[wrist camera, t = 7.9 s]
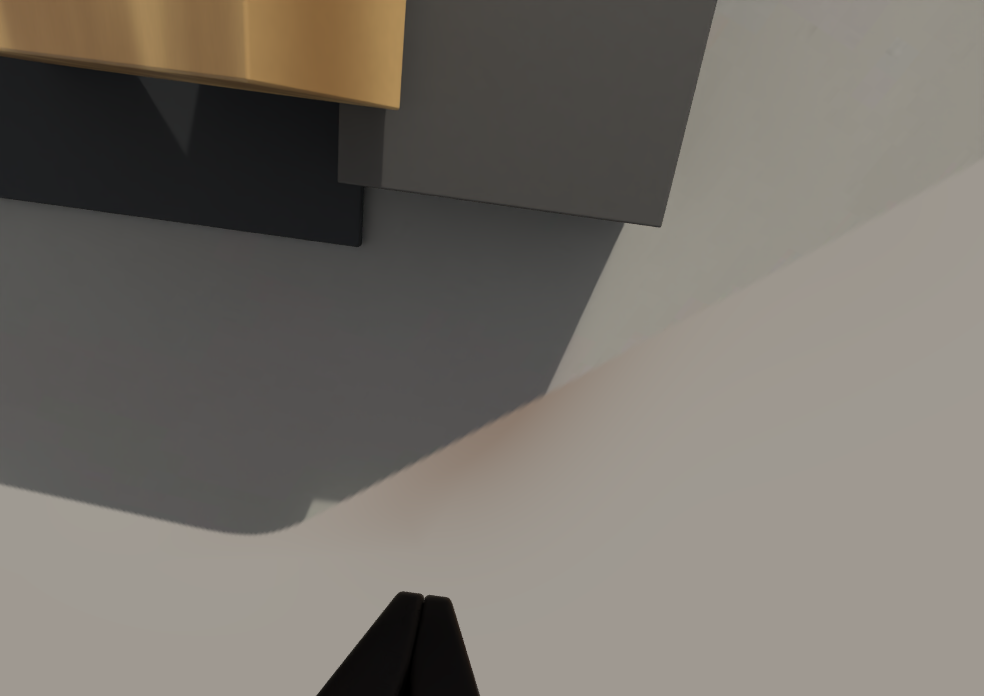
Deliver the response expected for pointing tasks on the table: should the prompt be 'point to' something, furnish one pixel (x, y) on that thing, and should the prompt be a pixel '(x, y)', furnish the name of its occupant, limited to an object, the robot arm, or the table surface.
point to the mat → (174, 152)
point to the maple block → (223, 43)
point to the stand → (536, 105)
